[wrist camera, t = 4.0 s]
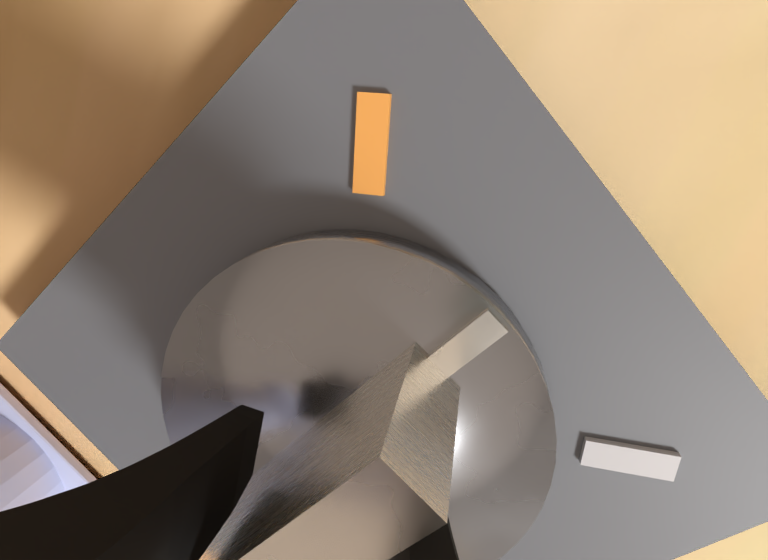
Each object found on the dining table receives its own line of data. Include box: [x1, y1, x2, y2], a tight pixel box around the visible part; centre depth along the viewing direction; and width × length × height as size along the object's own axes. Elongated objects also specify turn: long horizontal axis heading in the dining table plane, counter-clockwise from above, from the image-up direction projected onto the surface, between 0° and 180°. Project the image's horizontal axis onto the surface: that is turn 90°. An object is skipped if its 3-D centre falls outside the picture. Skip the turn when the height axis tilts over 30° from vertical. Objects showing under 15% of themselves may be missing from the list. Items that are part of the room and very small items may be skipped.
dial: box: [161, 230, 557, 560], centre depth 12 cm, size 11×11×6 cm
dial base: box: [0, 0, 768, 560], centre depth 15 cm, size 18×18×2 cm
